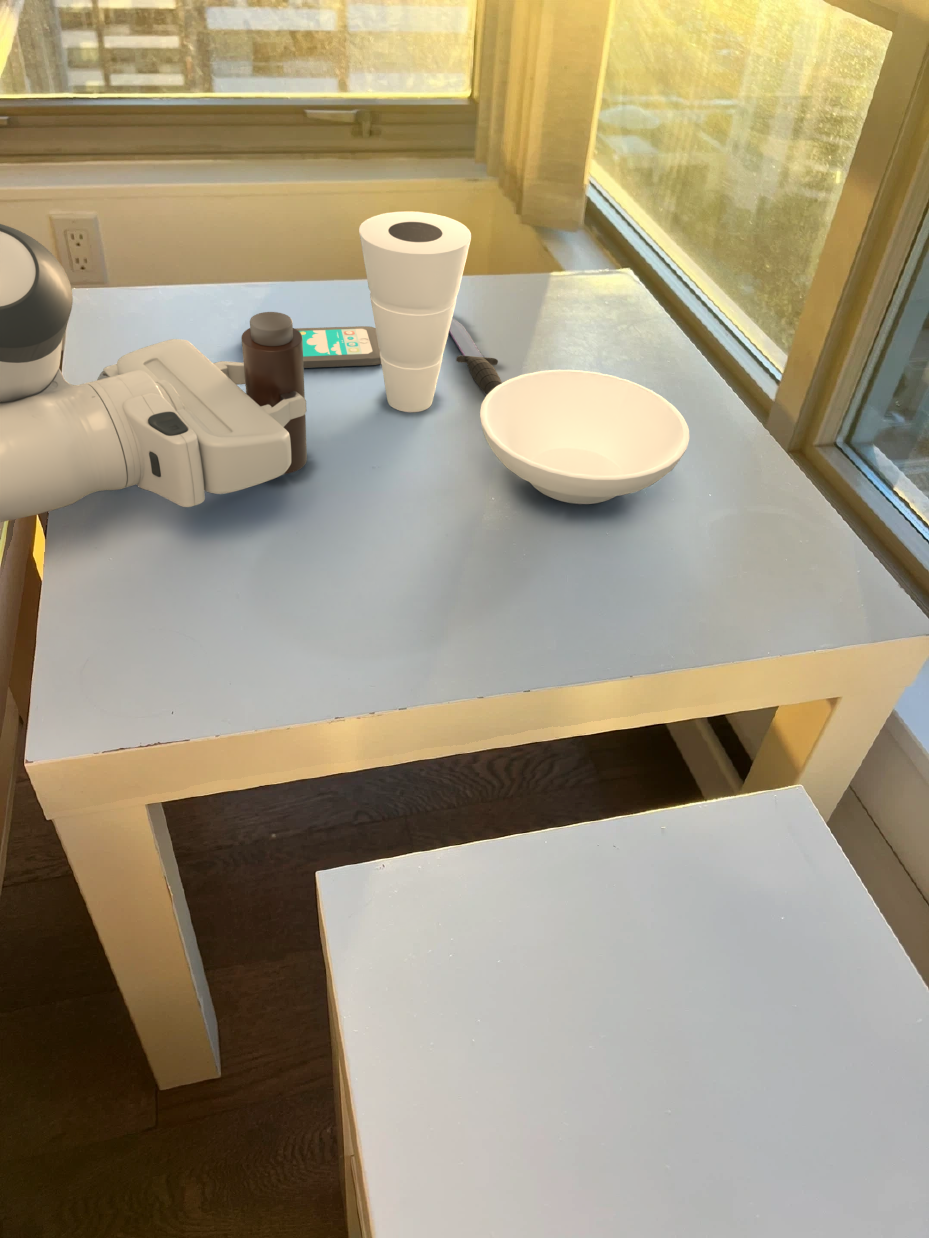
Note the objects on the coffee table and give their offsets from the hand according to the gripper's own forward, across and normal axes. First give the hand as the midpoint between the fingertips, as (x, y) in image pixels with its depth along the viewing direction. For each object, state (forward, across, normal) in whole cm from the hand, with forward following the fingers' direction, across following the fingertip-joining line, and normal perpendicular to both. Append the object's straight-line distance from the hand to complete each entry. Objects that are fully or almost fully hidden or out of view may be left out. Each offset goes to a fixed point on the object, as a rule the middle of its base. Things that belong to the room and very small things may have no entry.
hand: (283, 386), depth 87 cm
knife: (+29, -8, -8) cm, 31 cm away
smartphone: (+14, -18, -8) cm, 25 cm away
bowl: (+22, +17, -8) cm, 29 cm away
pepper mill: (-1, 0, -8) cm, 8 cm away
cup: (+17, -4, -8) cm, 19 cm away
